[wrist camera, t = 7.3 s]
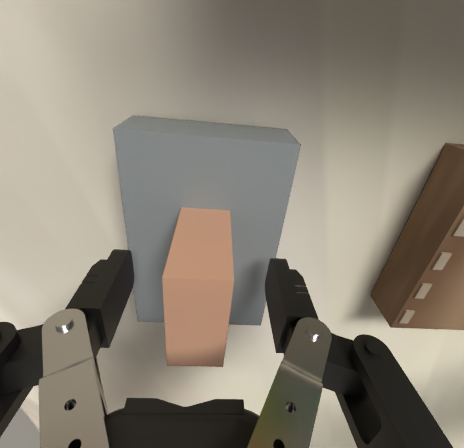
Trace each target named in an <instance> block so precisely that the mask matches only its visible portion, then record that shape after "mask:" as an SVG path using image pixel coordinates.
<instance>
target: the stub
mask: <svg viewBox="0 0 464 448" xmlns="http://www.w3.org/2000/svg"><path fill="white" fill-rule="evenodd" d="M113 133H114V141H115V148H116V156H117V164H118V172H119V179H120V187H121V195H122V202H123V210H124V218H125V226H126V233H127V241H128V249H129V250H130V251H131V253H132V260H133V268H134V284H133V287H134V295H135V303H136V310H137V318H138V321H146V322H165V339H166V358H167V366H210V367H223V363H224V355H225V348H226V340H227V332H228V324H235V325H261V322H262V317H263V313H264V308H265V304H266V296H265V280H266V275H267V270H268V265H269V261H270V259H271V258H276V254H277V250H278V245H279V241H280V236H281V232H282V227H283V223H284V218H285V214H286V209H287V205H288V200H289V196H290V191H291V187H292V182H293V178H294V173H295V169H296V165H297V160H298V156H299V151H300V147H301V144H300V143H299V142H298V141H297V140H296V139H295V138H294V137H293V136H292V134H291V133H290V132H289V131H288V130H287V129H277V128H265V127H254V126H243V125H232V124H221V123H210V122H199V121H188V120H177V119H166V118H155V117H144V116H132V117H130V118H128V119H127V120H125V121H124V122H122V123H121V124H119V125H117V126H116V127H114V128H113Z"/></svg>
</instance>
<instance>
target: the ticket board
mask: <svg viewBox="0 0 464 448" xmlns="http://www.w3.org/2000/svg"><path fill="white" fill-rule="evenodd" d="M371 297H372V299H373V300H374V302H375V303H376V305H377V307H378V308H379V310H380V311H381V313H382V314H383V316H384V318H385V319H386V321H387V322H388V324H389V326H390V327H394V328H423V329H452V330H464V145H462V144H450V143H446V144H445V146H444V148H443V150H442V152H441V154H440V156H439V158H438V161H437V163H436V165H435V167H434V169H433V171H432V173H431V175H430V177H429V179H428V181H427V183H426V185H425V187H424V189H423V191H422V193H421V195H420V197H419V199H418V201H417V203H416V205H415V207H414V209H413V211H412V213H411V215H410V217H409V219H408V221H407V223H406V225H405V227H404V229H403V231H402V233H401V235H400V237H399V239H398V241H397V243H396V245H395V247H394V249H393V251H392V253H391V255H390V257H389V259H388V261H387V263H386V265H385V267H384V269H383V271H382V273H381V275H380V277H379V279H378V281H377V283H376V285H375V287H374V289H373V291H372V293H371Z"/></svg>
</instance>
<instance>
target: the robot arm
mask: <svg viewBox="0 0 464 448" xmlns="http://www.w3.org/2000/svg"><path fill="white" fill-rule="evenodd" d="M133 284H134V268H133V260H132V253H131V251H130V250H117V249H114V250H113V251H112V252H111V254H110V256H109V258H108V259H107V260H100V261H98V262H97V263H96V264H94V265H93V266H92V267H91V269H90V270H89V272H88V273H87V276H86V277H85V278H84V280H83V281H82V284H81V285H80V286H79V288H78V289H77V291H76V293H75V294H74V296H73V297H72V299H71V301H70V302H69V304H68V305H67V307H66V309H65V310H62V311H59V312H57V313H55V314H53V315H52V316H51V317H49V318H48V319H47V320H46V321H45V323H44V324H43V325H39V326H35V327H30V328H25V329H21V330H16V328H15V326H14V325H13V324H11V323H8V322H0V437H1V435H2V434H3V432H4V431H5V429H6V428H7V426H8V424H9V423H10V421H11V420H12V418H13V417H14V415H15V414H16V412H17V411H18V409H19V408H20V406H21V405H22V403H23V401H24V400H25V398H26V397H27V395H28V394H29V392H30V391H31V389H32V388H33V386H36V385H39V422H40V448H309V445H310V441H311V436H312V432H313V428H314V423H315V419H316V414H317V410H318V406H319V401H320V397H321V393H322V388H326V389H329V390H332V391H334V392H335V393H336V396H337V398H338V401H339V403H340V406H341V408H342V411H343V413H344V415H345V418H346V420H347V423H348V425H349V428H350V430H351V433H352V435H353V438H354V440H355V443H356V445H357V448H453V447H452V445H451V444H450V442H449V441H448V439H447V437H446V436H445V434H444V433H443V431H442V430H441V428H440V427H439V425H438V424H437V422H436V421H435V419H434V417H433V416H432V414H431V413H430V411H429V410H428V408H427V407H426V405H425V404H424V402H423V401H422V399H421V397H420V396H419V394H418V393H417V391H416V390H415V388H414V387H413V385H412V384H411V382H410V381H409V379H408V377H407V376H406V374H405V373H404V371H403V370H402V368H401V367H400V365H399V364H398V362H397V361H396V359H395V357H394V356H393V354H392V353H391V351H390V350H389V348H388V347H387V346H386V345H385V344H384V343H383V342H382V341H380V340H379V339H377V338H375V337H373V336H370V335H364V334H363V335H359V336H357V337H356V338H355V339H354V341H353V340H350V339H346V338H343V337H340V336H337V335H335V334H333V333H331V332H330V330H329V328H328V327H327V326H326V325H325V324H324V323H323V322H321V321H320V320H319V319H318V316H317V314H316V311H315V308H314V306H313V303H312V300H311V298H310V295H309V294H308V290H307V287H306V284H305V282H304V279H303V277H302V276H301V275H300V274H299V272H298V271H297V270H292V269H289V266H288V263H287V260H286V259H278V258H271V259H270V261H269V265H268V270H267V275H266V280H265V296H266V301H267V307H268V312H269V317H270V323H271V328H272V334H273V339H274V344H275V350H276V353H284V358H283V360H282V362H281V364H280V366H279V368H278V371H277V374H276V376H275V379H274V381H273V384H272V386H271V389H270V391H269V394H268V396H267V399H266V401H265V404H264V406H263V409H262V411H261V414H260V416H259V415H257V414H255V413H253V412H251V411H249V410H246V409H244V401H243V400H239V399H214V400H211V401H207V402H203V403H200V404H196V405H193V406H189V407H182V406H179V405H176V404H173V403H169V402H166V401H163V400H160V399H157V398H127V400H126V404H125V407H124V408H122V409H119V410H116V411H114V412H112V413H110V414H109V413H108V409H107V405H106V401H105V396H104V391H103V386H102V382H101V377H100V372H99V367H98V362H97V358H96V356H97V354H98V351H99V349H100V348H109V347H110V344H111V342H112V339H113V337H114V334H115V332H116V329H117V326H118V324H119V321H120V319H121V316H122V314H123V311H124V308H125V306H126V303H127V301H128V298H129V296H130V293H131V290H132V288H133Z"/></svg>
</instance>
